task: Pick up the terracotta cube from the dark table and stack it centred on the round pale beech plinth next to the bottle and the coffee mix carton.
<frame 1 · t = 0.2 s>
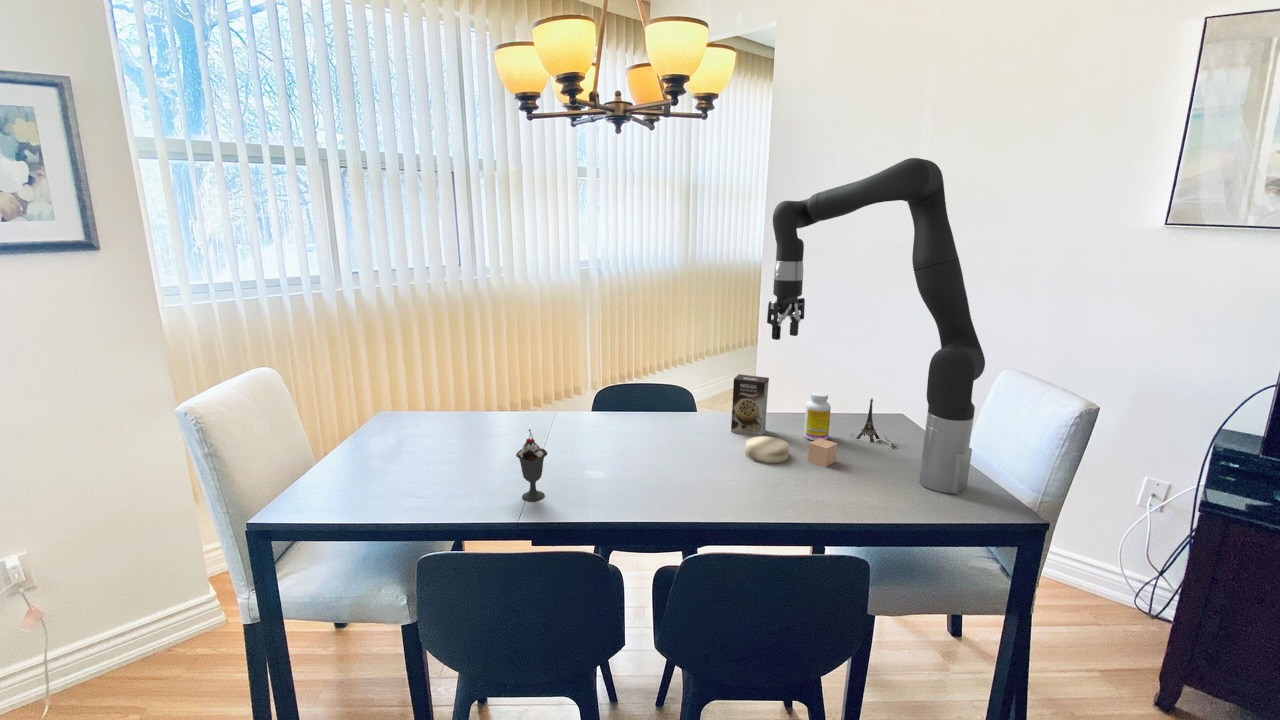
hand: (785, 337, 161), 28 cm above the table, tool pointing down, fingers open, 8 cm apart
cube: (821, 461, 150), on the table
sundae: (533, 497, 130), on the table
supplement bottle: (815, 438, 166), on the table
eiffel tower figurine: (869, 441, 165), on the table
coffee box: (748, 431, 171), on the table
plinth: (766, 454, 153), on the table
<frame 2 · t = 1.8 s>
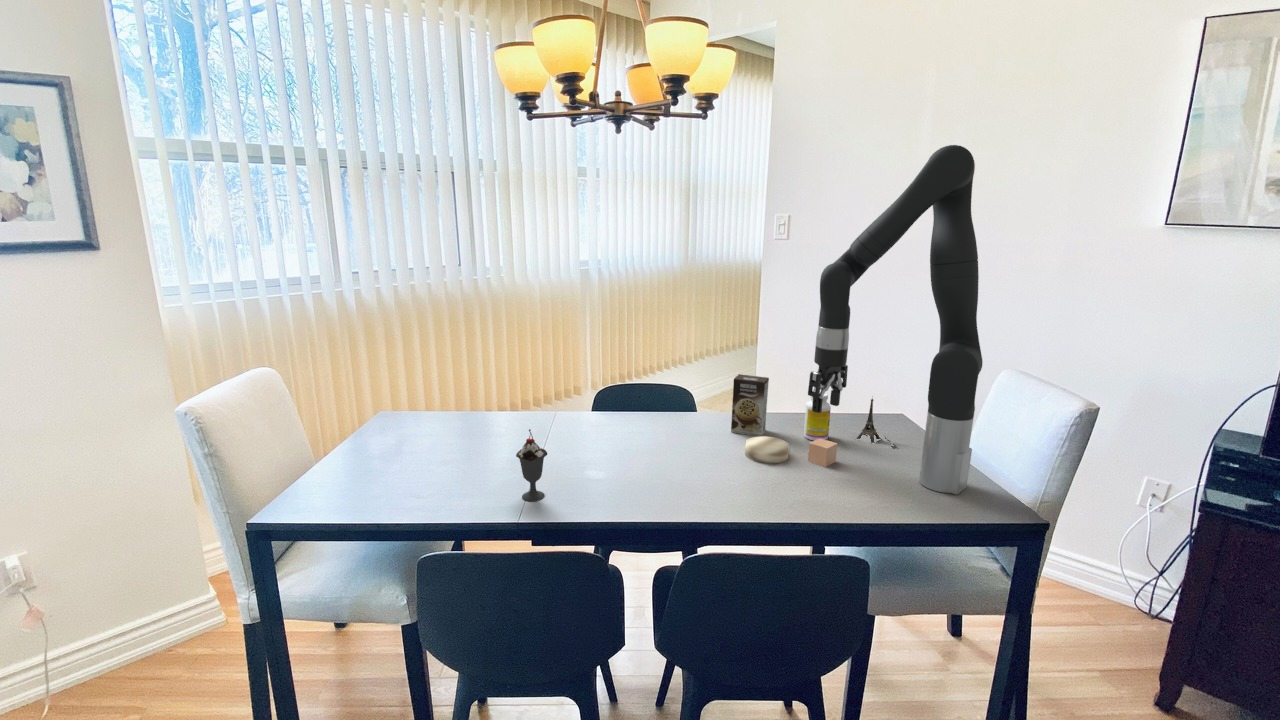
hand: (825, 408, 146), 14 cm above the table, tool pointing down, fingers open, 8 cm apart
nothing on the table moved.
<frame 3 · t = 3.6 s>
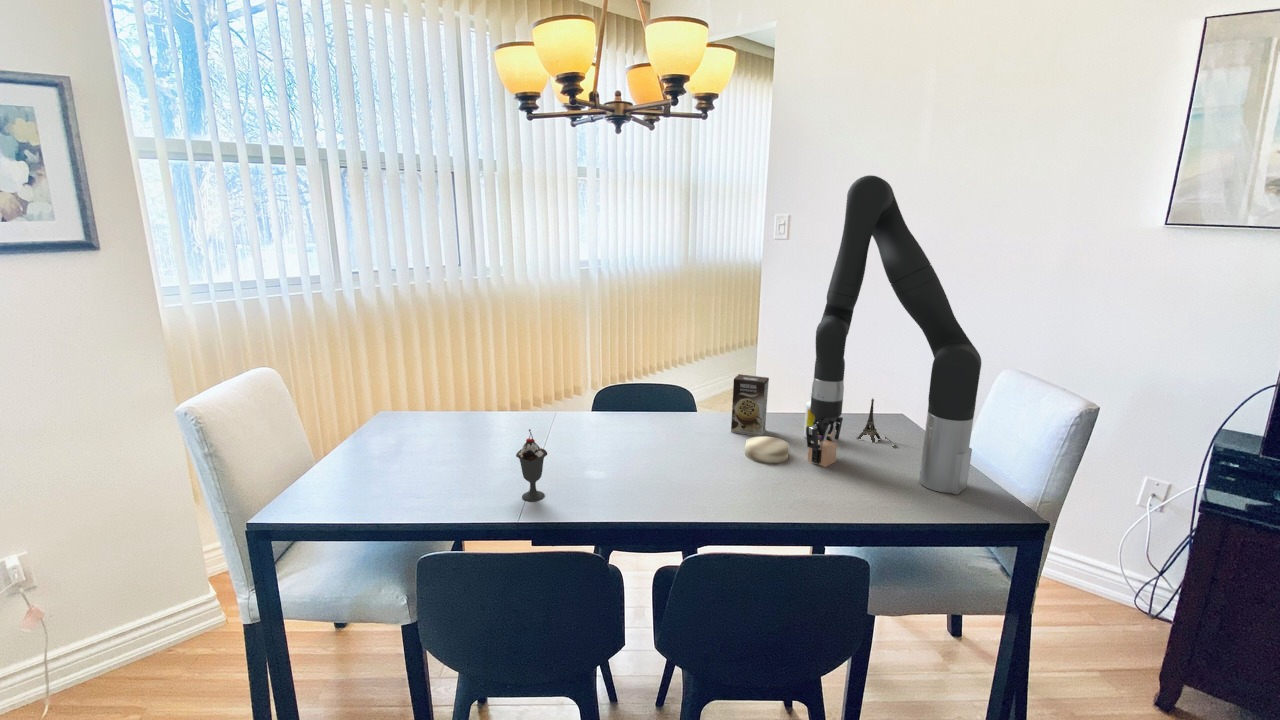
hand: (821, 459, 150), 0 cm above the table, tool pointing down, fingers closed on cube, 5 cm apart
cube: (821, 461, 150), on the table, touching gripper
everything else where it was.
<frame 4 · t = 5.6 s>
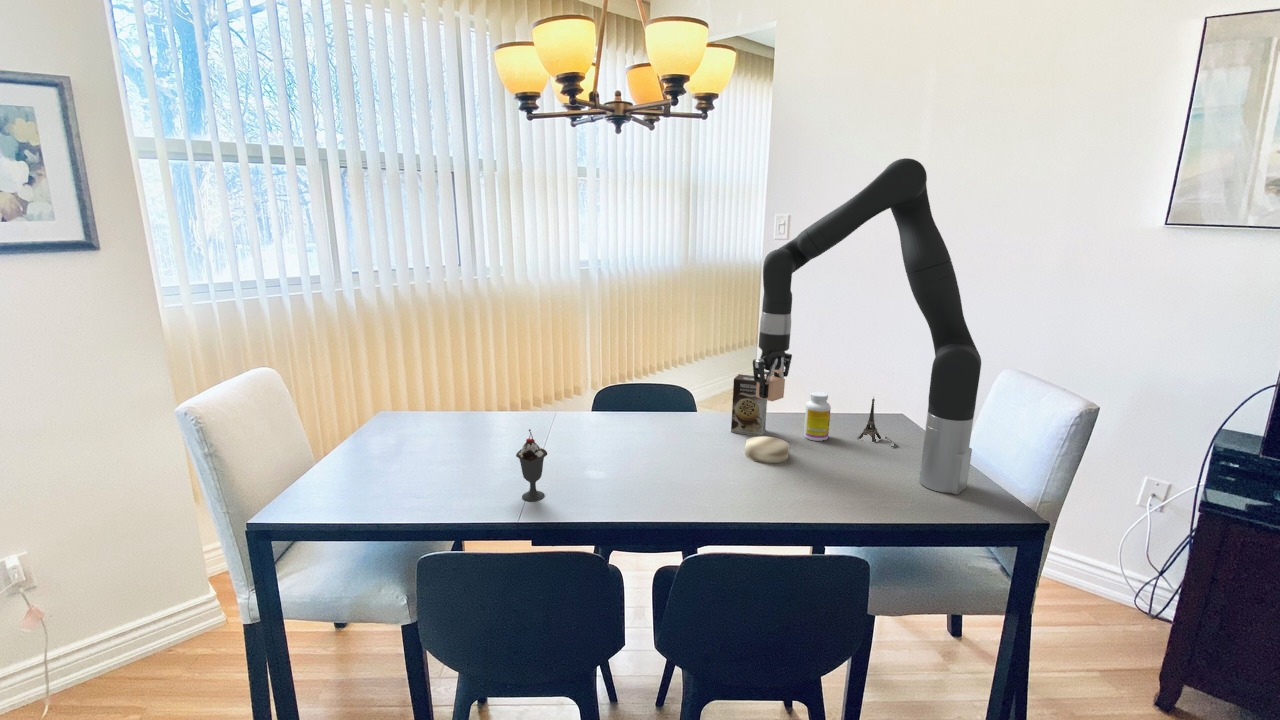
hand: (769, 395, 150), 16 cm above the table, tool pointing down, fingers closed on cube, 5 cm apart
cube: (769, 397, 150), point 16 cm above the table, touching gripper
everything else where it was.
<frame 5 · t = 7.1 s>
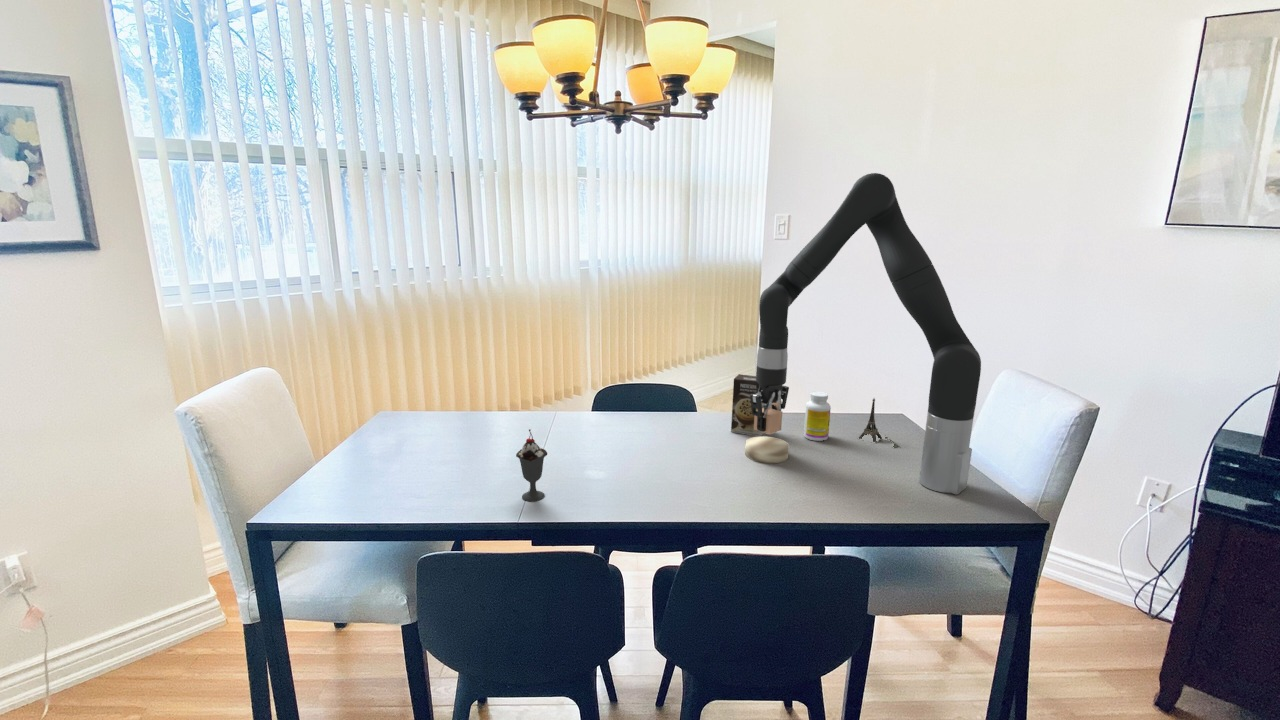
hand: (767, 427, 152), 7 cm above the table, tool pointing down, fingers closed on cube, 5 cm apart
cube: (767, 429, 152), point 7 cm above the table, touching gripper
everything else where it was.
when the fingers open (5 cm above the table, at t = 8.1 s): cube drops 1 cm, resting on plinth.
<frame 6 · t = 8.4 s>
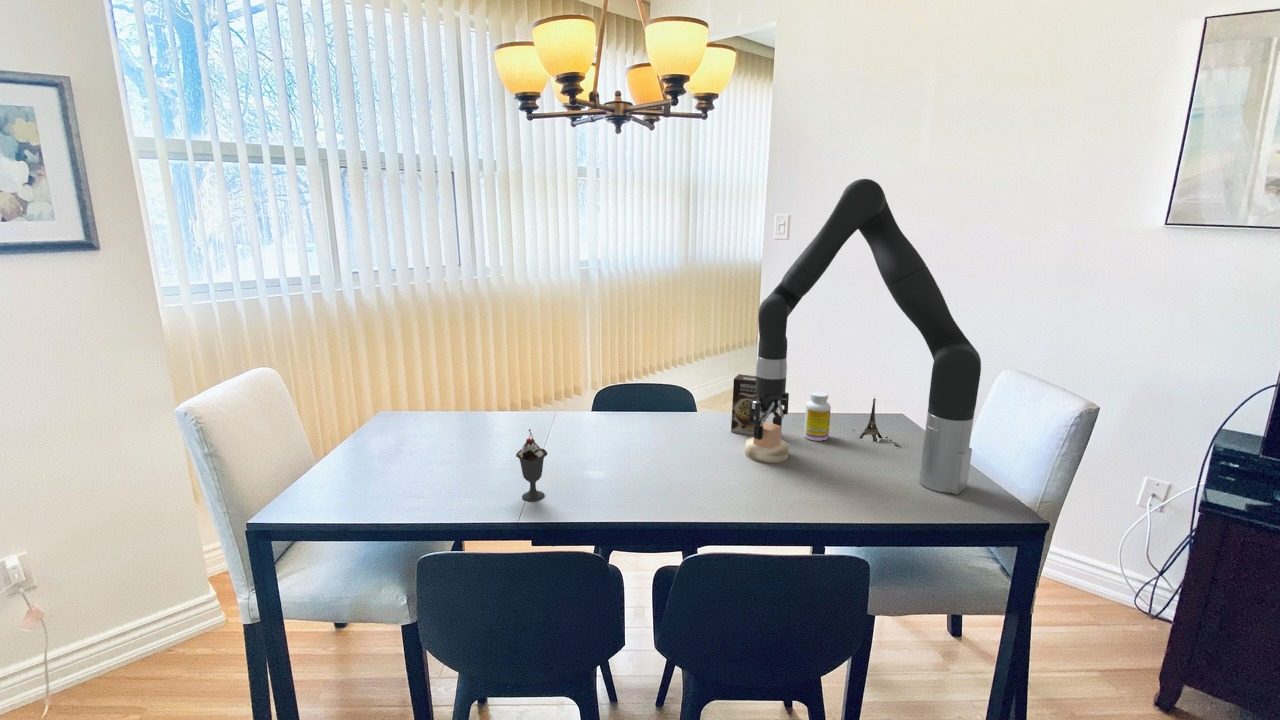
hand: (767, 434, 152), 6 cm above the table, tool pointing down, fingers open, 8 cm apart
cube: (766, 444, 153), point 3 cm above the table, touching plinth
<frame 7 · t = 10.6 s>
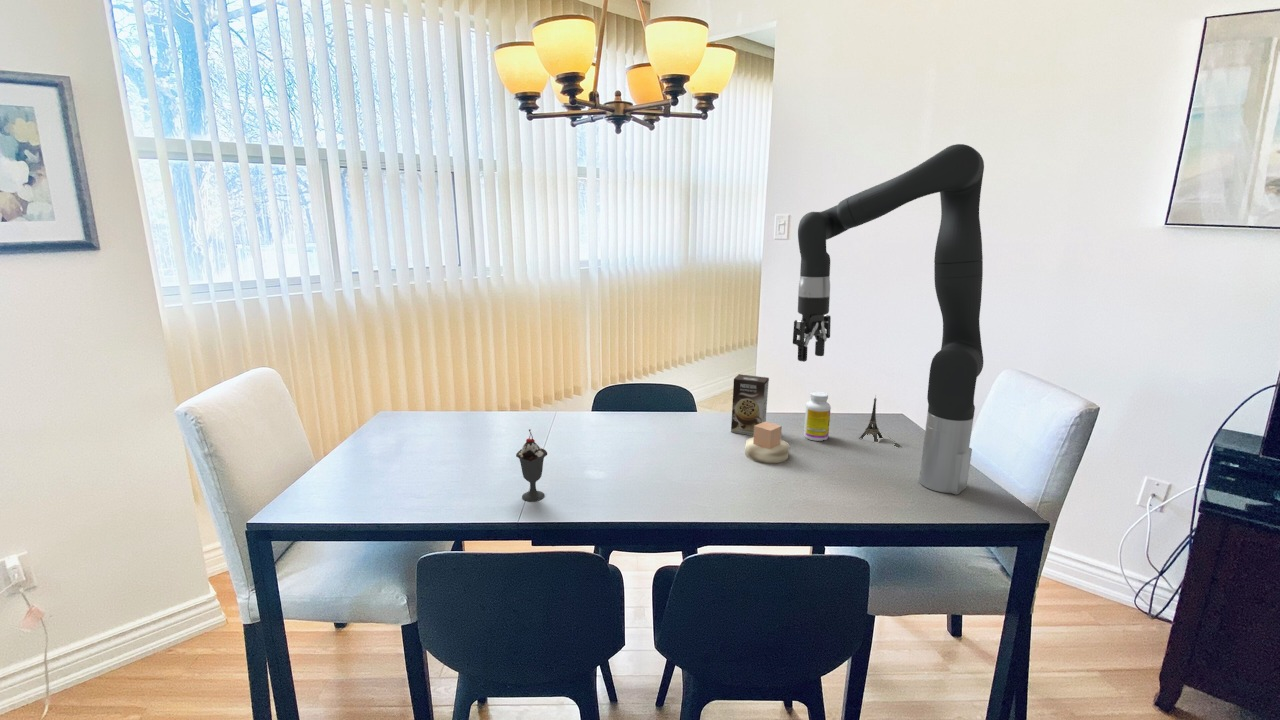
hand: (811, 358, 149), 26 cm above the table, tool pointing down, fingers open, 8 cm apart
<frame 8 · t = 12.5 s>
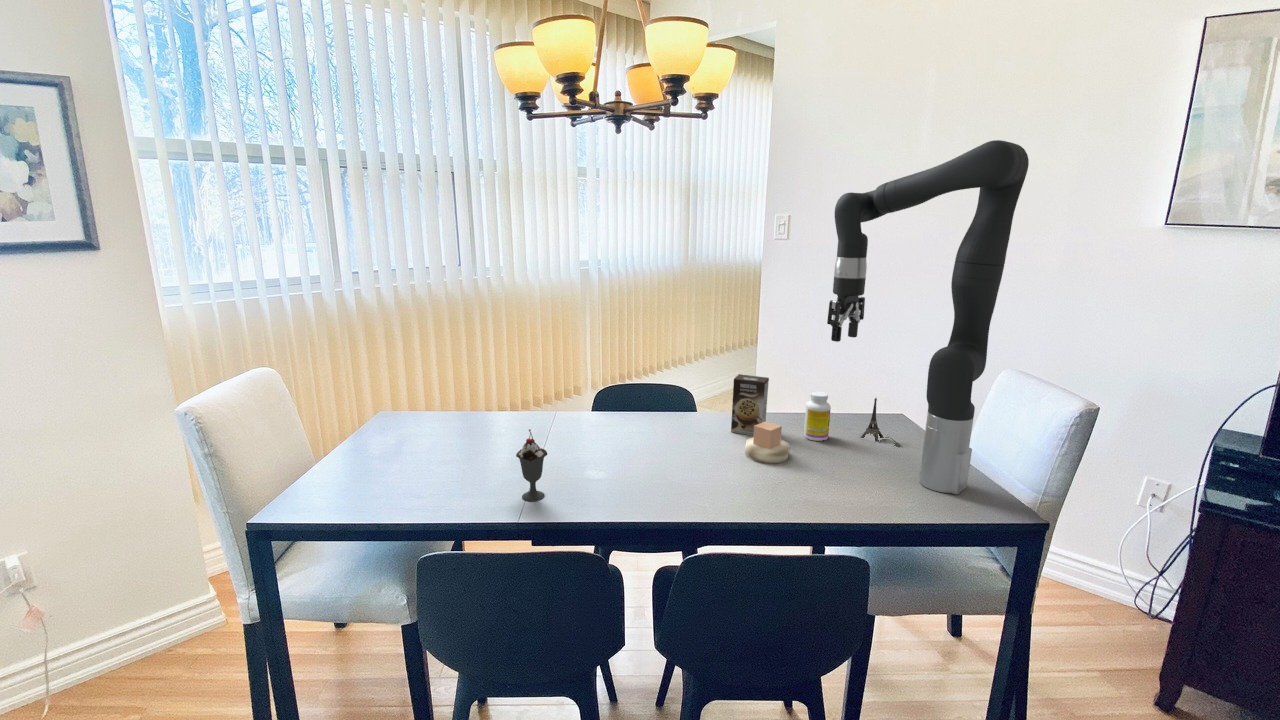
hand: (844, 339, 151), 30 cm above the table, tool pointing down, fingers open, 8 cm apart
at the end: cube inside the target area on the plinth (0.1 cm from its centre), point 3.0 cm above the plinth's base; cube tilted 0°; the gripper is holding nothing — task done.
